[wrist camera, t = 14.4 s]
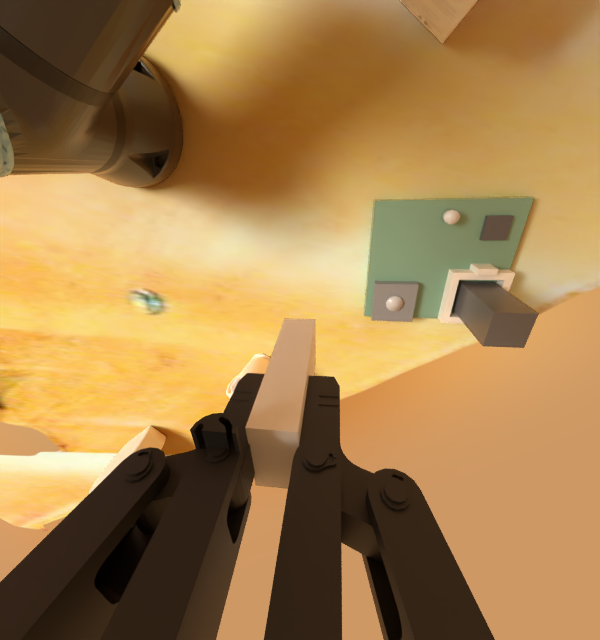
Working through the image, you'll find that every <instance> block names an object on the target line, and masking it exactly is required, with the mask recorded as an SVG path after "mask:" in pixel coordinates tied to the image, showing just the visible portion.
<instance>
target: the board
mask: <svg viewBox="0 0 600 640" xmlns="http://www.w3.org/2000/svg"><path fill="white" fill-rule="evenodd" d="M533 200H534V197H487V198H442V199H396V200H374V205H373V216H372V227H371V238H370V249H369V261H368V272H367V283H366V294H365V305H364V316H371V310H372V300H373V291H374V281H417V283H418V284H419V286H418V292H417V297H416V302H415V308H414V313H413V318H438V314H439V310H440V306H441V301H442V297H443V293H444V289H445V284H446V280H447V276H448V272H449V269H470V265H471V264H491V265H493V266H494V267H496V268H497V269H509V270H510V267H511V264H512V261H513V258H514V256H515V253H516V250H517V247H518V244H519V241H520V238H521V235H522V232H523V229H524V226H525V224H526V221H527V218H528V215H529V212H530V209H531V206H532V203H533ZM459 281H494V282H495V283H497V280H459ZM458 285H459V283H458ZM457 289H458V286H457ZM456 293H457V290H456ZM455 297H456V294H455ZM454 301H455V298H454ZM453 304H454V302H453ZM452 308H453V306H452ZM451 312H454V311H453V309H452V310H451Z"/></svg>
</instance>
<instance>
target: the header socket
mask: <svg viewBox="0 0 600 640" xmlns="http://www.w3.org/2000/svg"><path fill="white" fill-rule="evenodd" d="M514 276H515V273H514V272H512V271H511V270H509V269H497V268H496V267H494V266H493V265H491V264H471V265H470V269H449V272H448V276H447V280H446V284H445V289H444V293H443V297H442V301H441V306H440V310H439V314H438V319H439V321H440V322H441V323H463V322H462V320H461V319H460V318H459V317H458V316H457V314H456V313H455V312H451V310H452V306H453V302H454V298H455V294H456V290H457V286H458V283H459V280H497V283H496V284H498V285H499V286H501V287H502V288H503V289H505V290H506V291H508V292H509V290H510V287H511V284H512V282H513V279H514Z"/></svg>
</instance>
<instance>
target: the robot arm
mask: <svg viewBox="0 0 600 640" xmlns="http://www.w3.org/2000/svg"><path fill="white" fill-rule="evenodd" d="M180 6H181V4H180V0H0V177H5V176H8V175H27V174H80V173H91V174H93V175H96V176H98V177H100V178H103V179H105V180H108V181H110V182H113V183H115V184H118V185H122V186H127V187H147V186H152V185H156V184H158V183H160V182H162V181H164V180H165V179H166V178H167V177H168V176H169V175H170V174H171V173H172V172H173V170H174V169H175V167H176V165H177V163H178V161H179V158H180V155H181V150H182V143H183V130H182V122H181V117H180V112H179V109H178V106H177V103H176V100H175V98H174V96H173V93H172V91H171V90H170V88H169V86H168V84H167V83H166V81H165V79H164V78H163V77H162V75H161V74H160V73H159V71H158V70H157V69H156V68H155V67H154V66H153V65H152V64H151V63H150V62H149V61H148V60H147V59H146V58H144V57H143V54H144V53H145V51H146V50H147V48H148V47H149V46H150V44H151V43H152V41H153V40H154V39H155V37H156V36H157V34H158V33H159V31H160V30H161V29H162V27H163V26H164V24H165V23H166V21H167V20H168V19H169V17H170V16H171V14H172V13H173V12H174V11H175V12H176V13H177V12H178V10H179V9H180ZM315 365H316V363H315V319H286V318H285V319H284V322H283V325H282V328H281V330H280V333H279V336H278V339H277V342H276V344H275V347H274V350H273V353H272V355H271V358H270V361H269V364H268V366H267V369H266V372H265V374H258V373H247V374H246V375H245V376H243V377H242V378H241V379H240V380H239V381H238V383H237V385H236V387H235V389H234V393H233V394H232V396H231V398H230V401H229V402H228V404H227V406H226V408H225V411H224V413H216V414H211V415H208V416H205V417H203V418H202V419H200V420H199V421H197V422H196V423H195V424H194V426H193V427H192V428H191V429H190V431H191V434H192V437H193V440H194V443H195V446H196V449H195V450H192V451H189V452H185V453H181V454H176V455H171V456H166V457H165V454H164V452H163V451H161V450H160V449H159V448H152V447H149V448H144V449H141V450H138V451H136V452H134V453H132V454H131V455H129V456H128V457H127V458H126V459H124V460H123V461H122V462H121V463H120V464H119V465H118V466H117V467H116V468H115V469H114V470H113V471H112V472H111V473H110V474H109V475H108V476H107V477H106V478H105V479H104V480H103V481H102V482H101V483H100V484H99V485H98V486H97V487H96V488H95V489H94V490H93V491H92V492H91V493H90V494H89V495H88V496H87V497H86V498H85V499H84V500H83V501H82V502H81V503H80V504H79V505H78V506H77V507H76V508H75V509H74V510H73V511H72V512H71V513H70V514H69V515H68V516H67V517H66V518H65V519H64V520H63V521H62V522H61V523H60V524H59V525H58V526H56V527H55V528H54V529H53V530H52V531H51V532H50V533H49V535H47V536H46V537H45V538H44V539H43V540H42V541H41V542H40V543H39V544H38V545H37V547H35V548H34V549H33V550H32V551H31V552H30V553H29V554H28V555H27V556H26V557H25V558H24V559H23V560H22V561H21V562H20V563H19V564H18V565H17V566H16V567H15V568H14V569H13V570H12V571H11V572H10V573H9V574H8V575H7V576H6V577H5V578H4V579H3V580H2V581H1V582H0V640H216V637H217V633H218V629H219V625H220V621H221V618H222V614H223V610H224V606H225V602H226V598H227V595H228V590H229V587H230V583H231V579H232V575H233V571H234V567H235V564H236V560H237V556H238V552H239V548H240V544H241V540H242V536H243V533H244V528H245V525H246V521H247V517H248V513H249V510H250V505H251V493H250V489H251V486H252V482H253V478H255V484H256V485H259V486H268V487H278V488H287V489H288V493H287V499H286V505H285V512H284V518H283V524H282V530H281V536H280V543H279V549H278V556H277V562H276V568H275V574H274V581H273V586H272V593H271V599H270V605H269V612H268V618H267V624H266V630H265V637H264V640H342V593H341V592H342V586H341V585H342V582H341V579H342V578H341V577H342V576H341V542H342V543H343V544H345V545H347V546H349V547H351V548H353V549H354V550H356V551H358V552H360V553H362V556H363V561H364V564H365V568H366V572H367V576H368V580H369V584H370V588H371V592H372V595H373V599H374V603H375V607H376V611H377V615H378V619H379V623H380V627H381V631H382V634H383V638H384V640H495V639H494V637H493V635H492V633H491V631H490V629H489V627H488V626H487V623H486V621H485V619H484V617H483V615H482V613H481V611H480V609H479V607H478V605H477V603H476V601H475V599H474V597H473V595H472V593H471V591H470V589H469V587H468V585H467V583H466V580H465V578H464V576H463V574H462V572H461V571H460V569H459V566H458V564H457V562H456V560H455V558H454V556H453V554H452V552H451V550H450V548H449V546H448V544H447V542H446V540H445V538H444V536H443V534H442V532H441V530H440V528H439V526H438V524H437V522H436V520H435V518H434V516H433V514H432V512H431V510H430V508H429V506H428V504H427V502H426V500H425V498H424V496H423V494H422V492H421V490H420V488H419V487H418V486H417V484H416V483H415V481H414V480H413V479H411V478H410V477H409V476H408V475H406V474H405V473H403V472H400V471H398V470H395V469H382V470H379V471H377V472H375V473H371V472H369V471H367V470H364V469H362V468H360V467H358V466H356V465H354V464H353V463H351V462H350V461H349V460H348V459H347V458H346V456H345V455H344V454H343V452H342V449H341V446H340V387H339V385H338V383H337V381H336V379H335V378H334V377H327V376H314V373H315Z"/></svg>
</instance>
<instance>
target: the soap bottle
mask: <svg viewBox="0 0 600 640" xmlns="http://www.w3.org/2000/svg"><path fill="white" fill-rule="evenodd" d="M165 440H166V436H165V435H163V434H162V433H160V432H159V431H158V430H156V429H155V428H154V427H152V426H149V427H148V428H146V429H145V430H144V431H142V432H141V433H140V434H138V435H137V436H135V437H134V438H133V439H131V440H130V441H129V442H127V443H126V444H125V446H124V447H123V448H122V449H121V450H120V451H119V452H118V453H117V454H116V456H115V457H114V458H113V459H112V461H111V462H110V463H109V464H108V465H107V467H106V468H105V469H104V471H103V472H102V473H101V475H100V476H99V477H98V479H97V480H96V482H95V483H94V485H93V486H92V488H91V490H90V492H89V494H90V493H91V492H92V491H93V490H94V489H95V488H96V487H97V486H98V485H99V484H100V483H101V482H102V481H103V480H104V479H105V478H106V477H107V476H108V475H109V474H110V473H111V472H112V471H113V470H114V469H115V468H116V467H117V466H118V465H119V464H120V463H121V462H122V461H123V460H124V459H126V458H127V457H128V456H129V455H131V454H132V453H134V452H136V451H138V450H141V449H144V448H149V447H152V448H159V449H160V450H161V449H162V447H163V446H164V443H165Z"/></svg>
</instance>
